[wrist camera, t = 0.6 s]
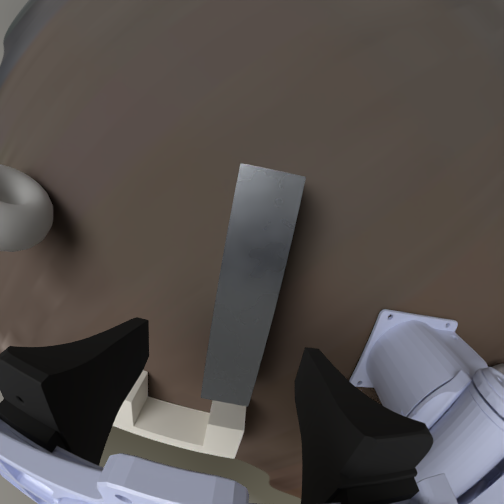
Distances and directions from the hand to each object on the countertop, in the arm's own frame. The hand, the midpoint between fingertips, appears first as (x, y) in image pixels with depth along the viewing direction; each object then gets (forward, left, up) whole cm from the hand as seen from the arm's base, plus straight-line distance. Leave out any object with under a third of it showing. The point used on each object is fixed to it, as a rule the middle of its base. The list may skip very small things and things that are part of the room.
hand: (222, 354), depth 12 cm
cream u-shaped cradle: (+3, +13, -9) cm, 16 cm away
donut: (+19, -3, -10) cm, 22 cm away
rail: (-1, 0, -10) cm, 10 cm away
